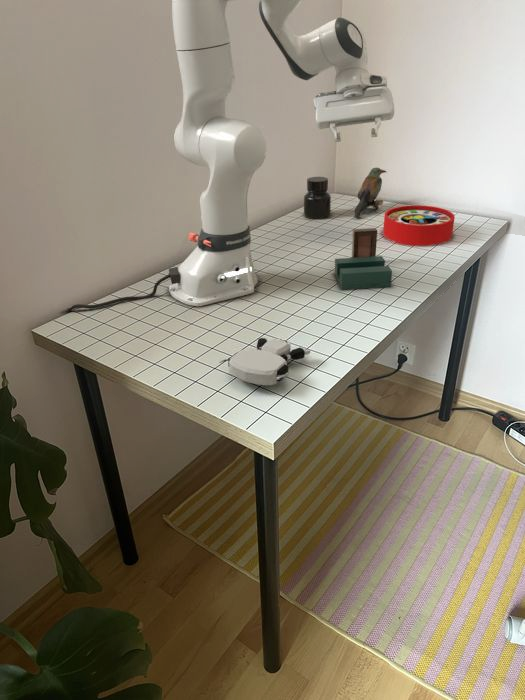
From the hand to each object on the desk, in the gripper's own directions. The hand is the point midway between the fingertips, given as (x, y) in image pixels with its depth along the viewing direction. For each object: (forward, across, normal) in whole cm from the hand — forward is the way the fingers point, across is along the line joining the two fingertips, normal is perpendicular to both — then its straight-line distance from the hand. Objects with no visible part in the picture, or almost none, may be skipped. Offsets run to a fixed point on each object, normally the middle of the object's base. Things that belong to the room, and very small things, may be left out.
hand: (356, 138), depth 143 cm
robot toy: (+62, -20, -36) cm, 75 cm away
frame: (+31, 0, +9) cm, 32 cm away
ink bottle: (+4, -14, +41) cm, 44 cm away
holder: (+38, -1, -1) cm, 38 cm away
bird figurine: (+3, +4, +46) cm, 46 cm away
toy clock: (+18, +17, +28) cm, 37 cm away
